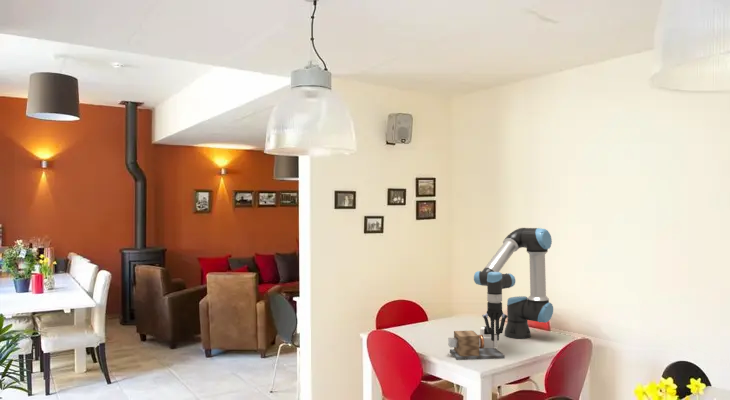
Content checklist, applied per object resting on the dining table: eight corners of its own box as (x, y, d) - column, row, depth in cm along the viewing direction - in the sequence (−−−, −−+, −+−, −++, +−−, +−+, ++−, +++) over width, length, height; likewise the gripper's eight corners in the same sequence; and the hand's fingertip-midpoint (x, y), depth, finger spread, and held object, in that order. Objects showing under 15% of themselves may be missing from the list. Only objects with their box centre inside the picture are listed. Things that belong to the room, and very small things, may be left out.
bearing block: (495, 350, 292) (495, 329, 292) (504, 358, 278) (504, 335, 278) (449, 352, 289) (449, 330, 289) (456, 359, 275) (456, 337, 275)
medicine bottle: (490, 347, 299) (490, 325, 299) (494, 350, 292) (494, 328, 292) (477, 347, 299) (477, 325, 299) (481, 351, 292) (481, 328, 292)
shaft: (480, 346, 287) (480, 333, 287) (484, 350, 280) (484, 336, 280) (447, 347, 286) (447, 334, 286) (451, 351, 279) (451, 337, 279)
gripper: (484, 303, 280) (485, 349, 280) (509, 302, 281) (509, 348, 281) (480, 300, 288) (480, 345, 288) (504, 300, 289) (504, 344, 289)
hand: (495, 346), depth 285 cm, fingers closed
